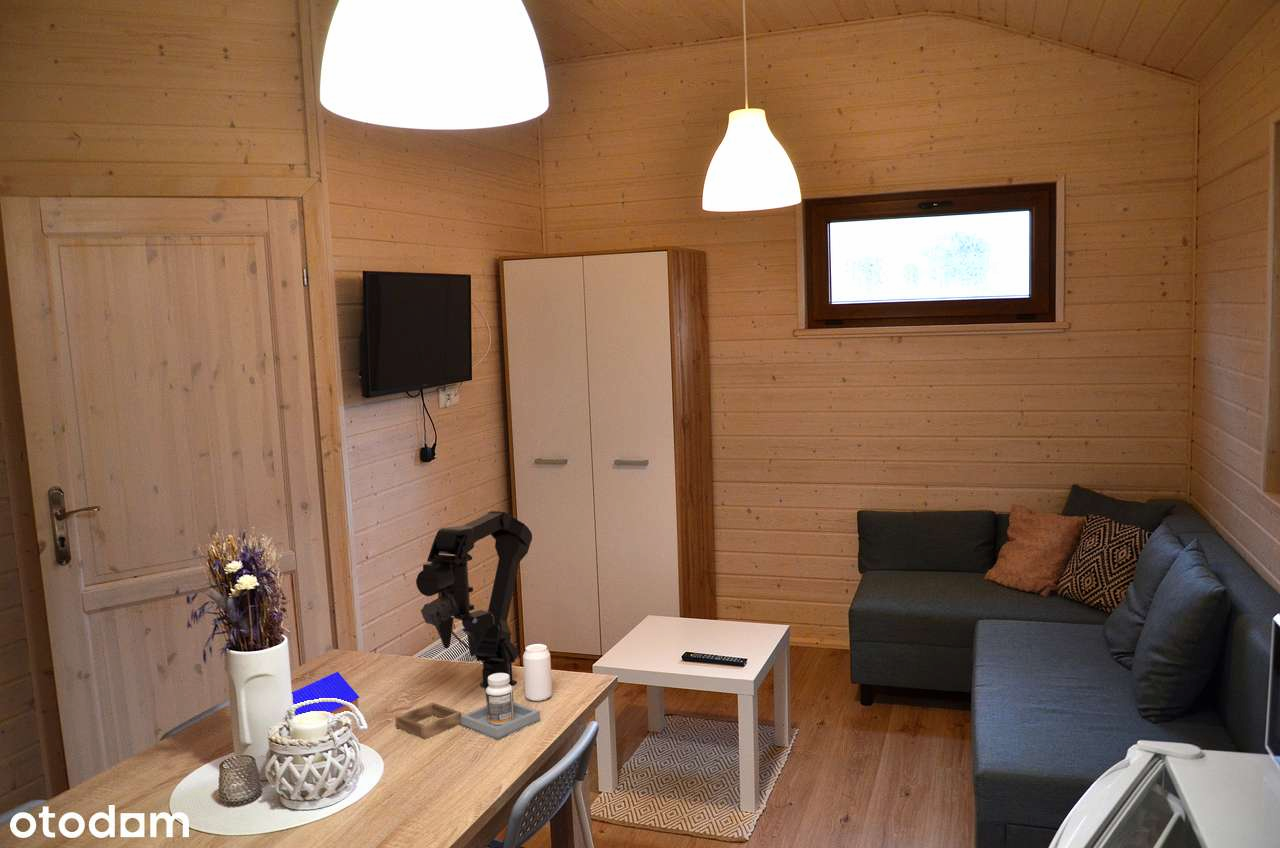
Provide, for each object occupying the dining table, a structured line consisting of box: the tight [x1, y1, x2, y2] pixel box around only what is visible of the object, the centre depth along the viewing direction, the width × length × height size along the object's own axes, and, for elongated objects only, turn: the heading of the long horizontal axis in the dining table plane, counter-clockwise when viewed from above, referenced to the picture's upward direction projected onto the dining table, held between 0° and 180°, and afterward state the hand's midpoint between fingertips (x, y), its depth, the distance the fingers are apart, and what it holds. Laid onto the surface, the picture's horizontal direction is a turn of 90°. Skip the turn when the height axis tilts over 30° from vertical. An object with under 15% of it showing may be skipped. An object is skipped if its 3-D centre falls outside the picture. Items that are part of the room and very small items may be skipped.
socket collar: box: [394, 702, 463, 741], centre depth 215 cm, size 10×10×2 cm
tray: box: [460, 701, 541, 741], centre depth 214 cm, size 12×12×2 cm
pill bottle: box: [485, 673, 514, 725], centre depth 214 cm, size 6×6×10 cm
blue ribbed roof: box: [291, 671, 360, 715], centre depth 210 cm, size 12×20×12 cm, turn 152°
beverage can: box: [522, 643, 553, 702], centre depth 228 cm, size 6×6×12 cm
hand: (459, 651), depth 223 cm, fingers open, 9 cm apart
